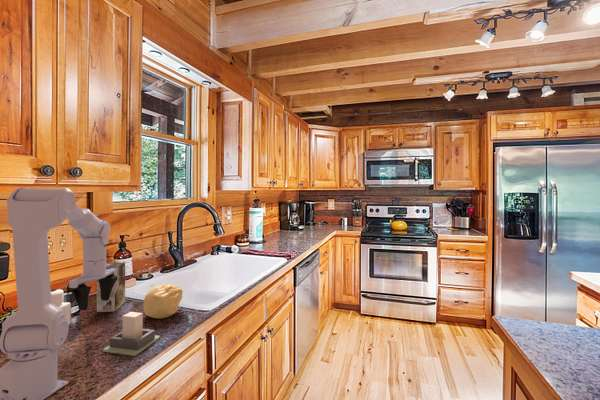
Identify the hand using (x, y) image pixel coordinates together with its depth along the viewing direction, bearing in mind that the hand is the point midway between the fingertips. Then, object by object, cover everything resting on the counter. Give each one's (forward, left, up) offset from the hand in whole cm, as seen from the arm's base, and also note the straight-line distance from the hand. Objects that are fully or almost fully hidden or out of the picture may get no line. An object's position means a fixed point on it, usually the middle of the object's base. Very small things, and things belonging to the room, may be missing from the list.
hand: (94, 304), depth 87 cm
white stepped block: (+1, +17, -10) cm, 20 cm away
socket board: (-2, -15, -9) cm, 18 cm away
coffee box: (+20, +13, -10) cm, 26 cm away
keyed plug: (-2, -15, -9) cm, 17 cm away
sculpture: (+18, -10, -10) cm, 23 cm away
